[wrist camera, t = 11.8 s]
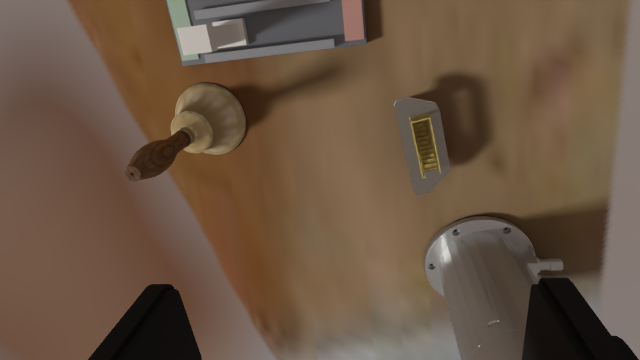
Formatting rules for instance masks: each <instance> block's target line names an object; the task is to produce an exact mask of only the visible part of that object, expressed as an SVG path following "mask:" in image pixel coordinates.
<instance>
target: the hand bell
mask: <svg viewBox="0 0 640 360" xmlns="http://www.w3.org/2000/svg"><path fill="white" fill-rule="evenodd" d="M245 131H246V117H245V113H244V110H243V108H242V106H241V104H240V102H239V101H238V100H237V98H236V97H235V96H234V95H233V94H232V93H231V92H229V91H228V90H227V89H225V88H224V87H221V86H219V85H216V84H212V83H199V84H195V85H193V86H191V87H189V88H187V89H186V90H185V91H184V92H183V93H182V94H181V96H180V97H179V99H178V101H177V104H176V109H175V117H174V119H173V121H172V123H171V135H172V136H171V137H169V138H168V139H166V140H158V141H154V142H151V143H149V144H147V145H145V146H143V147H142V148H140V149H139V150H138V151H137V152H136V153H135V154H134V156H133V157H132V159H131V161H130V163H129V165H128V166H127V167H126V169H125V171H124V173H125V176H126V177H127V178H128V179H129V180H130V181H139V180H141V179H148V178H152V177H155V176H157V175H159V174H161V173H162V172H164V171H165V170H166V169H167V168H168V167H169V166H170V165H171V164H172V163H173V161H174V160H175V157H176V155H177V153H178V152H180V151H181V150H185V151H187V152H190V153H200V152H204V153H207V154H214V155H219V154H225V153H228V152H230V151H232V150H233V149H235V148H236V147H237V146H238V145H239V144H240V142H241V141H242V139H243V137H244V135H245Z"/></svg>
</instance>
